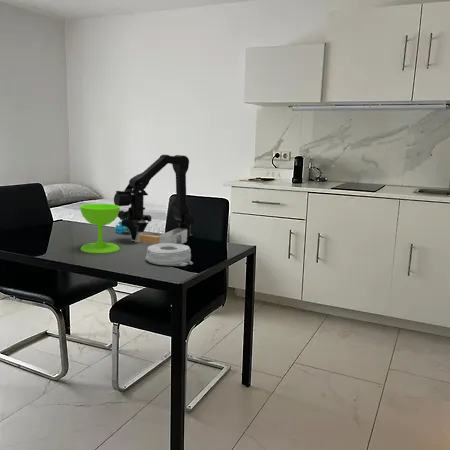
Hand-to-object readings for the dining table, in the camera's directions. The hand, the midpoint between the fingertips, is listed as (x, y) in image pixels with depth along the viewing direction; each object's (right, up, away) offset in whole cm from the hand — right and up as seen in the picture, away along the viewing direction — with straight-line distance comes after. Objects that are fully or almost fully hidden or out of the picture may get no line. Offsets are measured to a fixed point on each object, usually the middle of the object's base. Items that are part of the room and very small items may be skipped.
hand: (136, 238), depth 209 cm
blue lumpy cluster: (-10, +2, +17) cm, 19 cm away
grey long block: (+18, -3, -5) cm, 19 cm away
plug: (+5, -2, -1) cm, 5 cm away
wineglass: (-12, -4, -18) cm, 22 cm away
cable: (+19, -8, -33) cm, 38 cm away
